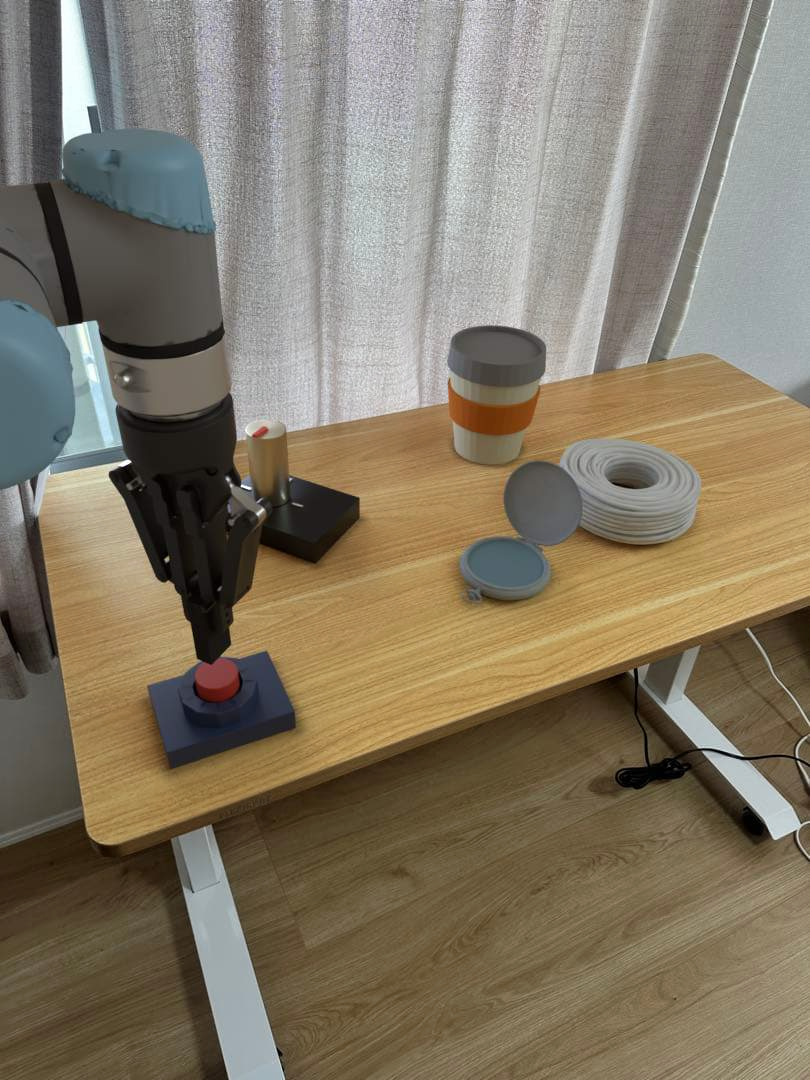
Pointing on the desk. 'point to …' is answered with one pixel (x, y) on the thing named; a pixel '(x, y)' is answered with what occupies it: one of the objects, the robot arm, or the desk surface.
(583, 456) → the cable
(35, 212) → the robot arm
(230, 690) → the red button
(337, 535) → the black dial base
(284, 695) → the button block
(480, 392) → the reusable coffee cup
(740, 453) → the desk surface
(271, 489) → the lock knob
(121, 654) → the desk surface
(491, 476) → the desk surface
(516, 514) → the pocket watch
